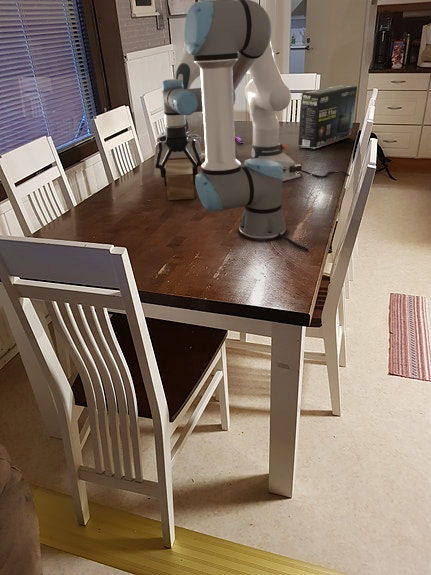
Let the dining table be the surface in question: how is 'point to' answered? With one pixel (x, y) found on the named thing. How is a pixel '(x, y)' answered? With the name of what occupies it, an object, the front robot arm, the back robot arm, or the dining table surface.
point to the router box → (326, 115)
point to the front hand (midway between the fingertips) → (180, 184)
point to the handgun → (239, 140)
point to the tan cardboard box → (179, 179)
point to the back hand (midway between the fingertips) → (179, 167)
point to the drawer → (178, 158)
